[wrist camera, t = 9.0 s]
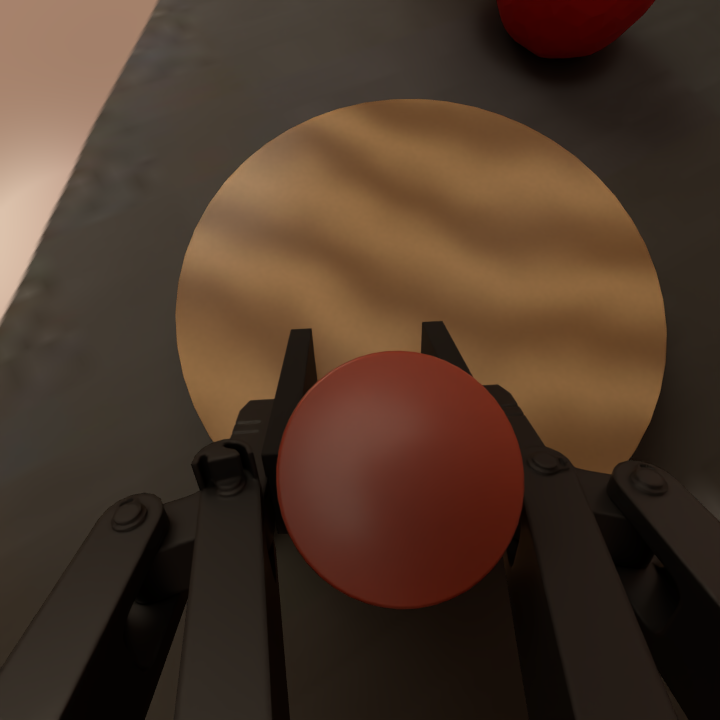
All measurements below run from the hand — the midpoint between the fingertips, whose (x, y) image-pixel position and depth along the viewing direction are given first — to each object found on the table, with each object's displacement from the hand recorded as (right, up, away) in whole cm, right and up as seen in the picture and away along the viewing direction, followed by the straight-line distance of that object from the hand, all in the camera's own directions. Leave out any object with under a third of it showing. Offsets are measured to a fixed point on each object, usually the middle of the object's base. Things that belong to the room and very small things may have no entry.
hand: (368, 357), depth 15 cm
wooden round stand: (+2, +3, +4) cm, 5 cm away
